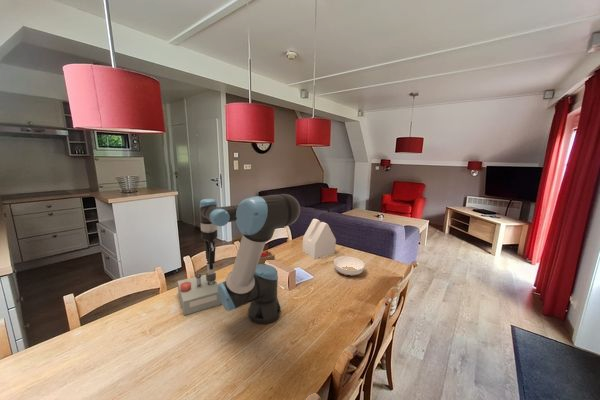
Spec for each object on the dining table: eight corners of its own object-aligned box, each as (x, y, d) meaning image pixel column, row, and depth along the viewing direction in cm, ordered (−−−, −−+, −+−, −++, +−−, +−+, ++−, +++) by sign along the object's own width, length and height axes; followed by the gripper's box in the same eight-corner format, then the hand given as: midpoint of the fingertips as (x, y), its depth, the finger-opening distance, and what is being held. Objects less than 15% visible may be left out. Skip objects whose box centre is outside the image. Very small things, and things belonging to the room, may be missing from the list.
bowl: (367, 270, 159) (368, 261, 158) (357, 282, 143) (358, 273, 142) (340, 262, 169) (340, 253, 168) (328, 273, 153) (328, 264, 152)
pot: (202, 286, 121) (201, 275, 120) (196, 287, 119) (196, 277, 118) (201, 284, 123) (200, 273, 122) (195, 285, 122) (195, 274, 120)
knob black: (217, 291, 125) (216, 275, 123) (207, 294, 122) (207, 277, 120) (215, 286, 129) (214, 271, 127) (205, 289, 126) (204, 273, 124)
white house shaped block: (314, 259, 172) (316, 225, 167) (302, 251, 185) (303, 220, 180) (334, 254, 182) (337, 222, 178) (322, 247, 195) (324, 217, 190)
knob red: (192, 302, 119) (191, 285, 117) (182, 305, 116) (180, 288, 114) (191, 297, 123) (190, 280, 121) (180, 299, 120) (179, 283, 118)
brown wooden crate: (274, 262, 166) (274, 255, 165) (251, 267, 156) (251, 260, 155) (268, 256, 174) (268, 250, 173) (245, 261, 164) (245, 254, 163)
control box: (222, 304, 119) (221, 291, 118) (184, 315, 110) (183, 301, 108) (211, 284, 135) (211, 273, 134) (178, 293, 126) (177, 281, 125)
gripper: (220, 233, 116) (221, 278, 120) (213, 225, 126) (215, 267, 131) (204, 235, 111) (206, 281, 116) (198, 227, 122) (200, 270, 127)
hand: (210, 274), depth 124 cm, fingers closed
